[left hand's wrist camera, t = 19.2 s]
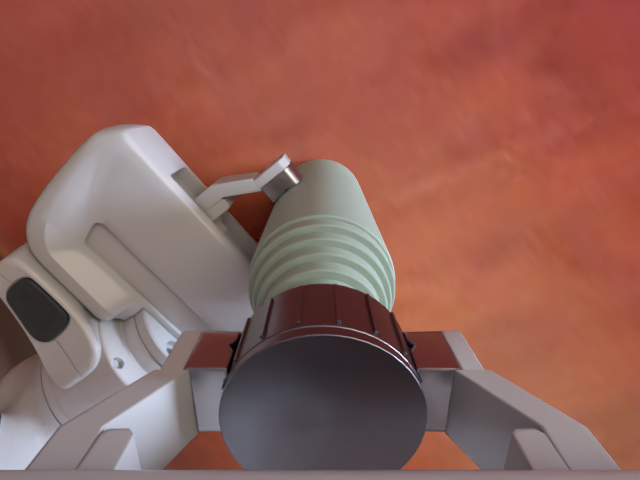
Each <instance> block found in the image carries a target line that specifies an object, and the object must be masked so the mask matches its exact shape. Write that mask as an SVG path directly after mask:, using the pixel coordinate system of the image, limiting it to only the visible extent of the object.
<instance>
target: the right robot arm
mask: <svg viewBox="0 0 640 480" xmlns="http://www.w3.org/2000/svg"><path fill="white" fill-rule="evenodd" d="M301 177H302V174H301V173H300V172H299V171H298V169H297V168H296V167H295V165H294V164H293V163H292V162H291V160H290V159H289V158H288V157H287V155H286V154H285V153H284V154H283V155H281V156H280V157H278V158H277V159H276V160H275V161H274V162H272V163H271V164H270V165H269V166H267V167H266V168H265V169H264V170H263V171H261V172H260V173H258V172H251V173H243V174H236V175H229V176H222V177H220V178H219V179H218V180H217V181H216V182H214V183H213V184H212V185H211V186H210V187H208V188H207V187H206V186H205V185H204V184H203V183H202V182H201V180H200V179H199V178H198V177H197V176H196V175H195V174H194V173H193V172H192V170H191V169H190V168H189V167H188V166H187V165H186V164H185V163H184V162H183V160H182V159H181V158H180V157H179V156H178V155H177V154H176V153H175V152H174V151H173V149H172V148H171V147H170V146H169V145H168V144H167V143H166V142H165V141H164V139H163V138H162V137H161V136H160V135H159V134H158V133H157V132H156V131H155V130H154V129H153V128H152V127H150V126H147V125H136V124H121V125H114V126H110V127H107V128H104V129H101V130H99V131H97V132H96V133H95V134H93V135H92V136H91V137H89V138H88V139H87V140H86V141H85V142H84V143H83V144H82V145H81V146H80V147H79V148H78V149H77V150H76V151H75V152H74V153H73V155H72V156H71V157H70V158H69V159H68V160H67V161H66V162H65V164H64V165H63V166H62V167H61V168H60V170H59V171H58V172H57V173H56V174H55V176H54V177H53V178H52V180H51V181H50V182H49V183H48V185H47V186H46V188H45V189H44V190H43V192H42V193H41V195H40V196H39V197H38V199H37V200H36V202H35V203H34V205H33V207H32V209H31V211H30V213H29V216H28V219H27V224H26V237H27V241H28V242H26V243H25V244H23V245H22V246H20V247H19V248H17V249H16V250H14V251H13V252H12V253H10V254H9V255H8V256H6V257H5V258H3V259H2V260H1V261H0V298H1V299H2V301H3V302H4V303H5V305H6V306H7V307H8V309H9V310H10V311H11V313H12V314H13V315H14V317H15V318H16V320H17V321H18V323H19V324H20V326H21V327H22V328H23V330H24V331H25V333H26V335H27V336H28V338H29V339H30V341H31V343H32V344H33V346H34V348H35V350H36V352H37V354H35V355H33V356H31V357H29V358H27V359H25V360H23V361H22V362H20V363H19V364H18V365H16V366H15V367H13V368H12V369H11V370H10V371H9V372H7V373H6V374H5V375H4V376H3V377H2V378H0V470H25V469H26V467H27V466H28V465H29V464H30V462H31V461H32V460H33V459H34V457H35V456H36V455H37V454H38V452H39V451H40V450H41V449H42V447H43V446H44V445H45V444H46V442H47V441H48V440H49V439H50V437H51V436H52V435H53V433H54V432H55V431H56V430H57V428H58V427H59V426H61V425H63V424H64V423H66V422H68V421H69V420H71V419H73V418H74V417H76V416H78V415H79V414H81V413H83V412H84V411H86V410H88V409H89V408H91V407H93V406H94V405H96V404H98V403H99V402H101V401H103V400H104V399H106V398H108V397H109V396H111V395H113V394H115V393H116V392H118V391H120V390H121V389H123V388H125V387H126V386H128V385H130V384H131V383H133V382H135V381H136V380H138V379H140V378H141V377H143V376H145V375H146V374H148V373H150V372H151V371H153V370H160V369H161V367H162V366H163V364H164V362H165V360H166V359H167V357H168V355H169V354H170V352H171V350H172V349H173V347H174V345H175V343H176V342H177V340H178V338H179V337H180V335H181V333H182V332H184V331H241V332H242V331H243V329H244V326H245V323H246V320H247V318H248V317H249V318H250V317H251V316H252V315H253V314H254V313H253V310H252V308H251V304H250V300H249V293H248V286H249V285H248V275H249V268H250V264H251V261H252V258H253V255H254V253H255V251H256V248H257V246H258V243H257V242H256V241H255V240H254V239H253V238H252V237H251V236H250V235H249V234H248V232H247V231H246V230H245V229H244V228H243V227H242V226H241V225H240V224H239V222H238V221H237V220H236V219H235V218H234V217H233V216H232V215H231V214H230V212H229V211H228V209H229V208H230V206H231V205H232V204H233V203H234V201H235V200H236V199H237V196H238V195H241V194H247V193H253V192H259V191H262V190H263V192H264V193H265V194H266V195H267V196H268V197H269V198H270V199H271V201H272V202H273V203H274V202H275V201H277V200H278V199H279V198H281V197H282V195H283V194H284V193H285V190H288V189H291V188H293V187H294V186H296V185H297V184H298V183H299V182H300V181H301V180H302V178H301Z"/></svg>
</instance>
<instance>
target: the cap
mask: <svg viewBox="0 0 640 480" xmlns="http://www.w3.org/2000/svg"><path fill="white" fill-rule="evenodd" d="M410 352H411V348H410V347H408V346H407V343H406V341H405V338H404V335H403V332H402V330H401V328H400V326H399V324H398V322H397V320H396V318H395V316H394V313H393V312H391V313H390V311H389V310H388V309H387V308H386V307H385V306H384V305H382V304H381V303H380V302H379V301H377V300H376V299H374V298H373V297H371V296H370V295H369V294H368V293H363V292H361V291H359V290H356V289H353V288H350V287H347V286H342V285H338V284H323V283H322V284H309V285H300V286H298V287H295V288H292V289H289V290H286V291H284V292H282V293H280V294H277V295H276V296H274V297H270V298H269V300H268V301H266V302H265V303H264V304H263V305H261V306H260V307H259V308H258V309H257V310H256V311H255V312H254V314H253V315H252V316H251V317H250V318H249V317H248V318H247V320H246V323H245V326H244V329H243V331H242V335H241V338H240V341H239V344H238V347H237V350H236V353H235V354H234V359H233V362H232V365H231V368H230V371H229V374H228V377H227V381H226V383H223V385H222V388H221V390H223V393H222V396H221V399H220V405H219V425H220V430H221V434H222V436H223V439H224V442H225V444H226V446H227V447H228V449H229V451H230V453H231V454H232V455H233V457H234V458H235V459H236V460H237V462H238V463H239V464H241V465H242V466H243V467H244V468H245V469H246V470H400V469H401V468H402V467H403V466H404V465H405V464H406V463H407V462H408V461H409V460H410V459H411V457H412V456H413V455H414V453H415V452H416V450H417V449H418V447H419V445H420V443H421V441H422V438H423V436H424V433H425V429H426V424H427V404H426V399H425V396H424V392H423V389H422V386H421V383H423V381H422V378H421V376H418V375H417V372H416V369H415V366H414V363H413V361H412V358H411V355H410Z"/></svg>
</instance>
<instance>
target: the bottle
mask: <svg viewBox="0 0 640 480" xmlns="http://www.w3.org/2000/svg"><path fill="white" fill-rule="evenodd" d="M296 168H297V169H298V171H299V172H300V173H301V174H302V177H301V178H302V180H301V181H300V182H299V183H298V184H297V185H296V186H294V187H293V188H291V189H288V190H285V193H284V194H283V195H282V197H281V198H279V199H278V200H277V201H276V202H275V205H274V207H273V209H272V212H271V214H270V217H269V219H268V222H267V224H266V226H265V229H264V231H263V234H262V236H261V238H260V241H259V243H258V246H257V248H256V251H255V253H254V255H253V258H252V261H251V264H250V268H249V275H248V285H249V286H248V293H249V300H250V304H251V308H252V310H253V313H254V312H255V311H256V310H257V309H258V308H259V307H260V306H261V305H263V304H264V303H265V302H266V301H268V300H269V298H270V297H274V296H276V295H277V294H280V293H282V292H284V291H286V290H289V289H292V288H295V287H298V286H300V285H309V284H322V283H323V284H338V285H342V286H347V287H350V288H353V289H356V290H359V291H361V292H363V293H368V294H369V295H370V296H371V297H373V298H374V299H376V300H377V301H379V302H380V303H381V304H382V305H384V306H385V307H386V308H387V309H388V310H389V311H390V312H391V309H392V306H393V303H394V298H395V271H394V266H393V262H392V260H391V257H390V255H389V252H388V250H387V248H386V245H385V243H384V241H383V239H382V236H381V234H380V232H379V229H378V227H377V225H376V223H375V220H374V218H373V216H372V213H371V211H370V209H369V206H368V204H367V202H366V200H365V197H364V195H363V193H362V190H361V188H360V186H359V184H358V181H357V180H356V178H355V176H354V175H353V174H352V173H351V172H350V171H349V170H348V169H347V168H346V167H345V166H343V165H341V164H340V163H337V162H335V161H332V160H327V159H315V160H310V161H307V162H304V163H302V164H300V165H299V166H297V167H296Z"/></svg>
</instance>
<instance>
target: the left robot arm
mask: <svg viewBox="0 0 640 480" xmlns="http://www.w3.org/2000/svg"><path fill="white" fill-rule="evenodd" d="M241 335H242V332H241V331H184V332H182V333H181V335H180V337H179V338H178V340H177V342H176V343H175V345H174V347H173V349H172V350H171V352H170V354H169V355H168V357H167V359H166V360H165V362H164V364H163V366H162V367H161V369H160V370H153V371H151V372H150V373H148V374H146V375H145V376H143V377H141V378H140V379H138V380H136V381H135V382H133V383H131V384H130V385H128V386H126V387H125V388H123V389H121V390H120V391H118V392H116V393H115V394H113V395H111V396H109V397H108V398H106V399H104V400H103V401H101V402H99V403H98V404H96V405H94V406H93V407H91V408H89V409H88V410H86V411H84V412H83V413H81V414H79V415H78V416H76V417H74V418H73V419H71V420H69V421H68V422H66V423H64V424H63V425H61V426H59V427H58V428H57V430H56V431H55V432H54V433H53V435H52V436H51V437H50V439H49V440H48V441H47V442H46V444H45V445H44V446H43V447H42V449H41V450H40V451H39V452H38V454H37V455H36V456H35V457H34V459H33V460H32V461H31V462H30V464H29V465H28V466H27V467H26V469H25V470H0V480H640V470H621V469H620V468H619V467H618V465H617V464H616V463H615V462H614V460H613V459H612V458H611V457H610V455H609V454H608V453H607V452H606V450H605V449H604V448H603V447H602V445H601V444H600V443H599V442H598V441H597V439H596V438H595V437H594V436H593V434H592V433H591V432H590V431H589V429H588V428H587V427H585V426H584V425H582V424H580V423H579V422H577V421H575V420H574V419H572V418H570V417H569V416H567V415H565V414H564V413H562V412H560V411H558V410H557V409H555V408H553V407H552V406H550V405H548V404H547V403H545V402H543V401H542V400H540V399H538V398H537V397H535V396H533V395H532V394H530V393H528V392H526V391H525V390H523V389H521V388H520V387H518V386H516V385H515V384H513V383H511V382H510V381H508V380H506V379H505V378H503V377H501V376H500V375H498V374H496V373H494V372H493V371H491V370H484V369H483V367H482V366H481V364H480V362H479V361H478V359H477V357H476V356H475V354H474V353H473V351H472V349H471V348H470V346H469V344H468V343H467V341H466V339H465V338H464V336H463V335H462V333H461V332H460V331H458V330H454V331H429V332H403V335H404V338H405V341H406V343H407V346H408V347H410V348H411V352H410V355H411V358H412V361H413V363H414V366H415V369H416V372H417V375H418V376H421V378H422V381H423V383H421V386H422V389H423V392H424V396H425V399H426V404H427V424H426V429H425V431H436V432H446V434H447V435H448V436H449V437H450V438H451V439H452V440H453V441H454V442H455V443H456V444H457V445H458V446H459V447H460V448H461V449H462V450H463V451H464V452H465V453H466V454H467V455H468V457H469V458H470V459H471V460H472V461H473V462H474V463H475V464H476V465H477V466H478V467H479V468H480V469H481V470H163V469H164V468H165V467H166V466H167V465H168V464H169V463H170V462H171V461H172V460H173V459H174V458H175V457H176V456H177V455H178V454H179V453H180V452H181V451H182V450H183V449H184V448H185V447H186V445H187V444H188V443H189V442H190V441H191V440H192V439H193V438H194V437H195V436H196V435H197V434H198V432H207V431H221V430H220V425H219V405H220V399H221V396H222V393H223V390H221V388H222V385H223V383H226V381H227V377H228V374H229V371H230V368H231V365H232V362H233V359H234V354H235V353H236V350H237V347H238V344H239V341H240V338H241Z"/></svg>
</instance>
